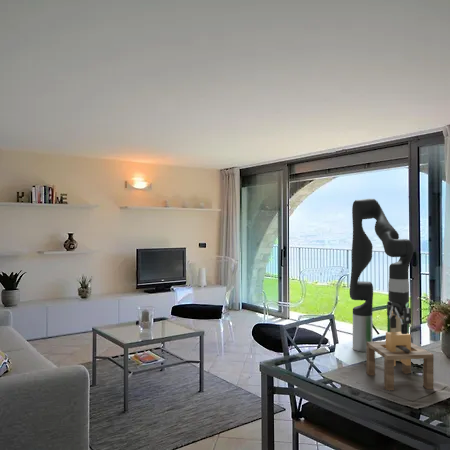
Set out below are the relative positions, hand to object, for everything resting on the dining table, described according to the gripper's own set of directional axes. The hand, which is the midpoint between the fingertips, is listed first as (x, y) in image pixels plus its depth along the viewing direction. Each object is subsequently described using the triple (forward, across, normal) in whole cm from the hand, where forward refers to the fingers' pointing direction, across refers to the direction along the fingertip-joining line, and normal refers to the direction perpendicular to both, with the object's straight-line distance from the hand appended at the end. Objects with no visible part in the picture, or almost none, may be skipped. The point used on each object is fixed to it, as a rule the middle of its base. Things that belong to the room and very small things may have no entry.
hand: (398, 330), depth 165 cm
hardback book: (+20, -27, +15) cm, 37 cm away
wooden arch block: (+13, 0, 0) cm, 13 cm away
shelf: (+20, 0, 0) cm, 20 cm away
